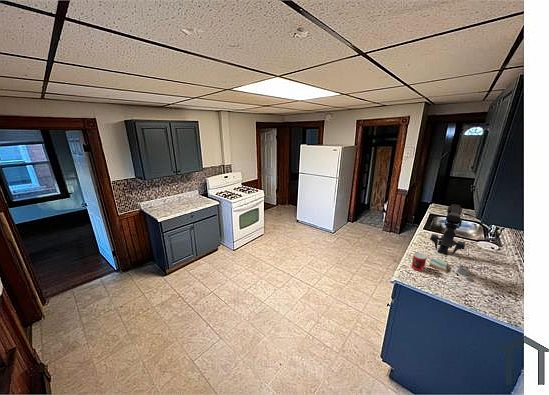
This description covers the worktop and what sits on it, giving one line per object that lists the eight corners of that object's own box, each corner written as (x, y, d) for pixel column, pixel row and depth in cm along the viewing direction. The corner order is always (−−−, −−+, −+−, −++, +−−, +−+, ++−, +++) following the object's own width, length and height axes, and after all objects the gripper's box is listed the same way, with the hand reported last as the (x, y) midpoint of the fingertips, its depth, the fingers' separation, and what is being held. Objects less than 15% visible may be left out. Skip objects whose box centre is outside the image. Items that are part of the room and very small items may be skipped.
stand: (431, 260, 168) (432, 257, 167) (447, 265, 162) (448, 262, 161) (429, 266, 161) (429, 263, 160) (445, 272, 155) (446, 269, 154)
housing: (458, 268, 159) (460, 263, 157) (467, 271, 155) (469, 266, 154) (458, 273, 154) (459, 268, 152) (467, 276, 150) (469, 271, 149)
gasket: (465, 277, 150) (465, 276, 150) (474, 280, 147) (474, 279, 147) (465, 280, 147) (465, 279, 147) (474, 283, 144) (474, 282, 144)
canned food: (421, 265, 162) (424, 252, 158) (425, 272, 155) (428, 259, 151) (409, 264, 164) (412, 251, 160) (413, 270, 157) (416, 257, 153)
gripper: (431, 232, 148) (426, 251, 154) (466, 241, 136) (460, 262, 142) (433, 226, 156) (429, 245, 161) (467, 235, 144) (461, 255, 149)
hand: (444, 252), depth 153 cm, fingers open, 9 cm apart
